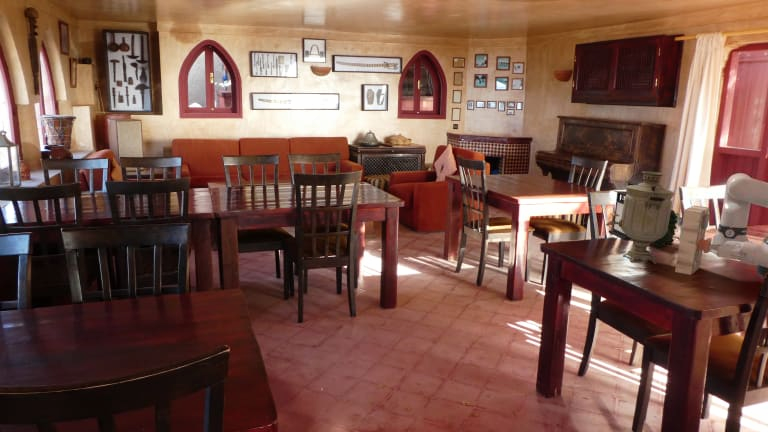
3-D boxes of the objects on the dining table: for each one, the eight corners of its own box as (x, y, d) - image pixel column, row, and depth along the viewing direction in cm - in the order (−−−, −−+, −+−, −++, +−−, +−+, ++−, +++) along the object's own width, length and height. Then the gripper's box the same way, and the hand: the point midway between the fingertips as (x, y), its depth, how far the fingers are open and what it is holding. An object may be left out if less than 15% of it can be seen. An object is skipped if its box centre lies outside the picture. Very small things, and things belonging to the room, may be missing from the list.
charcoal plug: (683, 223, 245) (685, 211, 244) (707, 227, 239) (709, 214, 238) (680, 225, 241) (682, 212, 240) (704, 229, 235) (706, 216, 234)
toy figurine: (659, 243, 298) (642, 246, 280) (665, 208, 295) (649, 209, 277) (678, 247, 291) (662, 250, 273) (685, 211, 289) (669, 212, 271)
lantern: (638, 233, 313) (646, 170, 306) (655, 240, 297) (664, 174, 290) (608, 232, 312) (616, 169, 305) (623, 239, 295) (632, 173, 288)
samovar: (605, 247, 277) (615, 166, 269) (664, 255, 266) (676, 171, 258) (599, 261, 251) (610, 172, 243) (664, 271, 240) (678, 178, 232)
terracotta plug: (686, 246, 246) (688, 234, 244) (709, 251, 240) (711, 238, 239) (682, 249, 241) (684, 236, 240) (706, 253, 235) (708, 240, 234)
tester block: (684, 264, 252) (694, 205, 246) (699, 267, 248) (709, 207, 242) (675, 271, 240) (684, 209, 234) (690, 275, 236) (700, 211, 230)
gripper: (741, 265, 221) (702, 257, 230) (750, 255, 236) (713, 249, 245) (744, 249, 220) (704, 242, 228) (752, 241, 235) (715, 235, 244)
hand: (709, 246), depth 237 cm, fingers closed
